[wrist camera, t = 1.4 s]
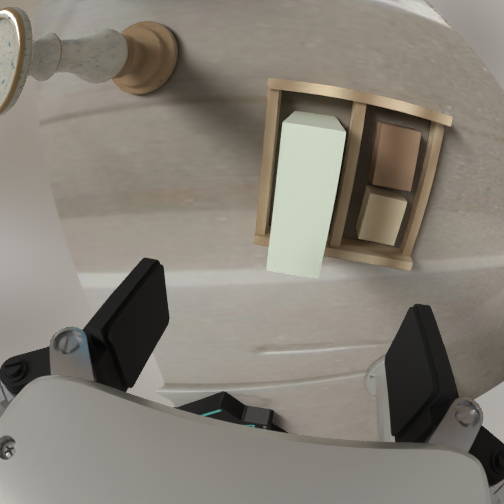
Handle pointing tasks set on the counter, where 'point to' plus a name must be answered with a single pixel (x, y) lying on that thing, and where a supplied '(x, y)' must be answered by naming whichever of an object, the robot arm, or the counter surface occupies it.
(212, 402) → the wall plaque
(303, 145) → the sage panel
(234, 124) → the counter surface
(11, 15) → the candle holder
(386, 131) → the walnut offcut
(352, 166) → the oak rack
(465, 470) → the robot arm
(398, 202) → the pine offcut
